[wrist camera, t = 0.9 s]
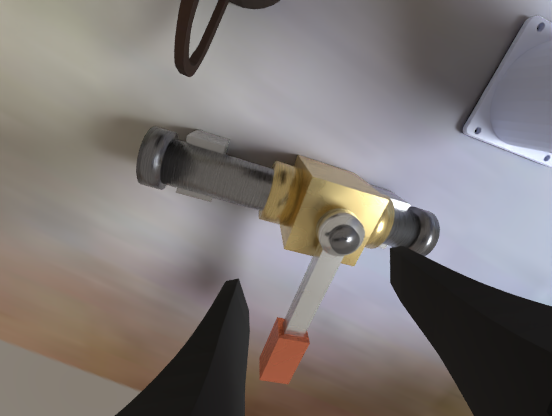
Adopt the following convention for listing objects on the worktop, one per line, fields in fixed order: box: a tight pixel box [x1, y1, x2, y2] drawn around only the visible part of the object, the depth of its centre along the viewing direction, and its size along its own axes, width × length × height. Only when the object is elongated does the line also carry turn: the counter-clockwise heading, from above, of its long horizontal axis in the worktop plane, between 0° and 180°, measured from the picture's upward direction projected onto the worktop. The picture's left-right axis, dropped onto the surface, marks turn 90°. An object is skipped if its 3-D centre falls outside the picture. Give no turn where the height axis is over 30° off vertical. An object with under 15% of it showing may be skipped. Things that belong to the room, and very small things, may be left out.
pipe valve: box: [136, 126, 440, 266], centre depth 18 cm, size 20×5×6 cm, turn 72°
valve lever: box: [260, 208, 365, 384], centre depth 17 cm, size 14×3×2 cm, turn 162°
